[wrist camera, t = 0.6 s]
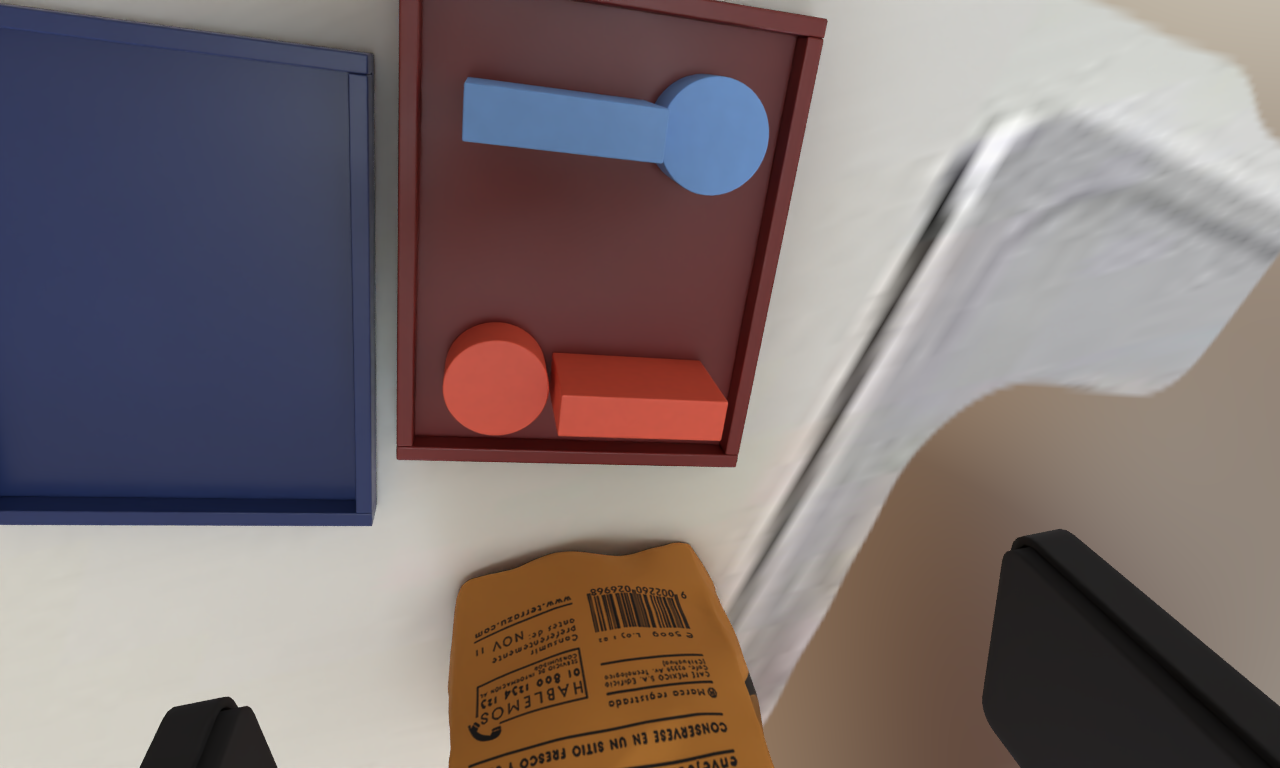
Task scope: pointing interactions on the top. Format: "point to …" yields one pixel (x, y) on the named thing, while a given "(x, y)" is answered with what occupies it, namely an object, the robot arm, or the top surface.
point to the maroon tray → (586, 211)
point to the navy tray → (184, 276)
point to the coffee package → (600, 667)
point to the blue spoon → (631, 126)
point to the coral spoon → (577, 390)
